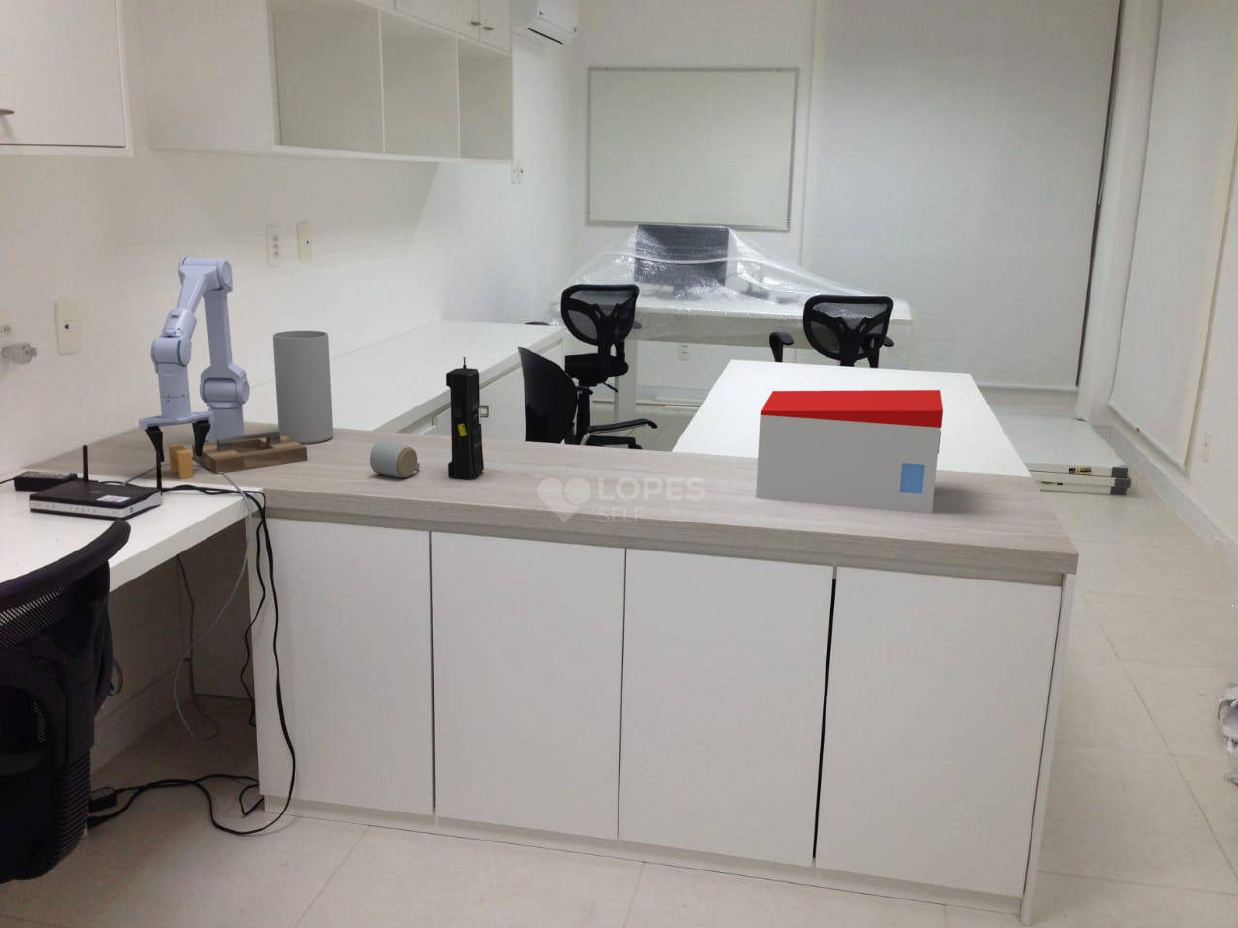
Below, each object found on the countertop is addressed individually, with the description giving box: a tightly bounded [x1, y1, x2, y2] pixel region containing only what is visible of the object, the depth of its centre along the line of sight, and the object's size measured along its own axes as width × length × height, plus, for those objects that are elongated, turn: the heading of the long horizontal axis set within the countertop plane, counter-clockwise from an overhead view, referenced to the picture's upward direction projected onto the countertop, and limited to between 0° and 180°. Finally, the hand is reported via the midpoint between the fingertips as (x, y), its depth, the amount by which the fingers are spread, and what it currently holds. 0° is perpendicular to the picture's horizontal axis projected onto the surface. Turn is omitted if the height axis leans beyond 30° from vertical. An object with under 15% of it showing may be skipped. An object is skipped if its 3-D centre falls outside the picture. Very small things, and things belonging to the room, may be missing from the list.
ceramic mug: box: [369, 439, 421, 479], centre depth 234 cm, size 10×8×7 cm
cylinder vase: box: [272, 330, 334, 445], centre depth 260 cm, size 12×12×25 cm
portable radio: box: [445, 356, 485, 481], centre depth 231 cm, size 8×6×25 cm
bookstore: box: [755, 389, 944, 515], centre depth 226 cm, size 21×35×21 cm, turn 76°
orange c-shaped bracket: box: [167, 444, 194, 480], centre depth 231 cm, size 7×2×6 cm, turn 38°
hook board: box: [191, 430, 309, 475], centre depth 243 cm, size 16×20×6 cm
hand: (180, 458), depth 231 cm, fingers open, 7 cm apart
